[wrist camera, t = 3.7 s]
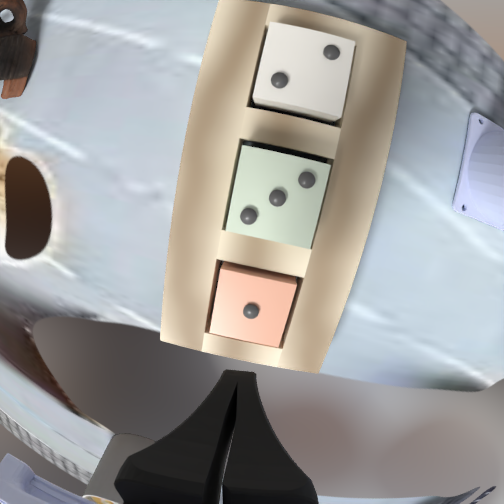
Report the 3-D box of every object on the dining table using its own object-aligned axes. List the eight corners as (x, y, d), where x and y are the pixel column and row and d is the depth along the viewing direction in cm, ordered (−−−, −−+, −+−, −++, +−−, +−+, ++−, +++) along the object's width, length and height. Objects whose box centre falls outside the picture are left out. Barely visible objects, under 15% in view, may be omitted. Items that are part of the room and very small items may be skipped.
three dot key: (322, 163, 19) (331, 165, 15) (305, 235, 20) (310, 250, 17) (247, 146, 19) (241, 144, 16) (232, 219, 20) (224, 231, 17)
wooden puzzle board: (393, 51, 16) (406, 41, 14) (314, 354, 24) (318, 373, 22) (225, 13, 17) (219, -2, 14) (169, 323, 24) (159, 340, 22)
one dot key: (294, 267, 22) (297, 286, 19) (278, 324, 23) (278, 348, 20) (227, 253, 22) (219, 269, 19) (216, 311, 23) (208, 334, 20)
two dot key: (344, 56, 16) (355, 40, 13) (331, 122, 18) (341, 117, 15) (270, 39, 16) (269, 20, 13) (255, 105, 18) (252, 96, 15)
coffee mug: (119, 422, 29) (86, 486, 20) (195, 459, 30) (178, 527, 21) (101, 460, 33) (76, 509, 24) (161, 489, 34) (145, 541, 25)
